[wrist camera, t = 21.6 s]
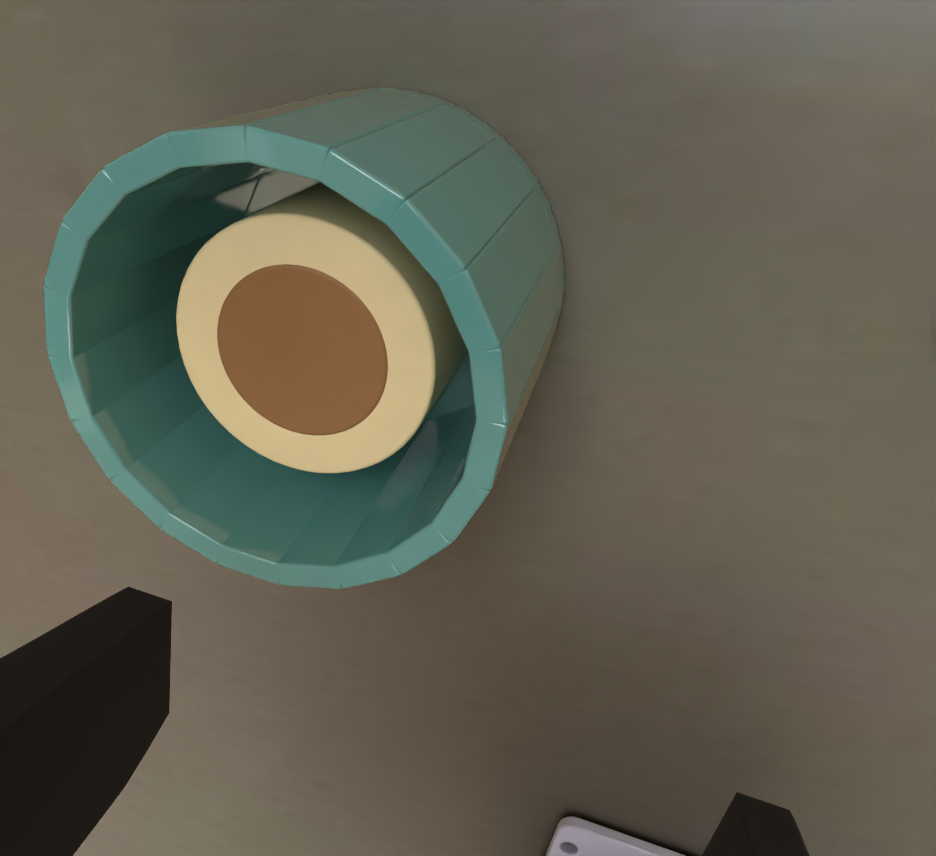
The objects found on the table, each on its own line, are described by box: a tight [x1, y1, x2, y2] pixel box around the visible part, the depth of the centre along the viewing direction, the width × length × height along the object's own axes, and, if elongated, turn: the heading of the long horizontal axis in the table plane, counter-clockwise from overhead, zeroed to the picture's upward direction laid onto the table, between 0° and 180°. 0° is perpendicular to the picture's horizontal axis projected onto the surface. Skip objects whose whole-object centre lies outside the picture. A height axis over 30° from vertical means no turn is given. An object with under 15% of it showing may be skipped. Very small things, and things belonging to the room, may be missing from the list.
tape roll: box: [176, 182, 468, 473], centre depth 16 cm, size 5×5×4 cm
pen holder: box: [43, 87, 565, 589], centre depth 16 cm, size 8×8×6 cm
